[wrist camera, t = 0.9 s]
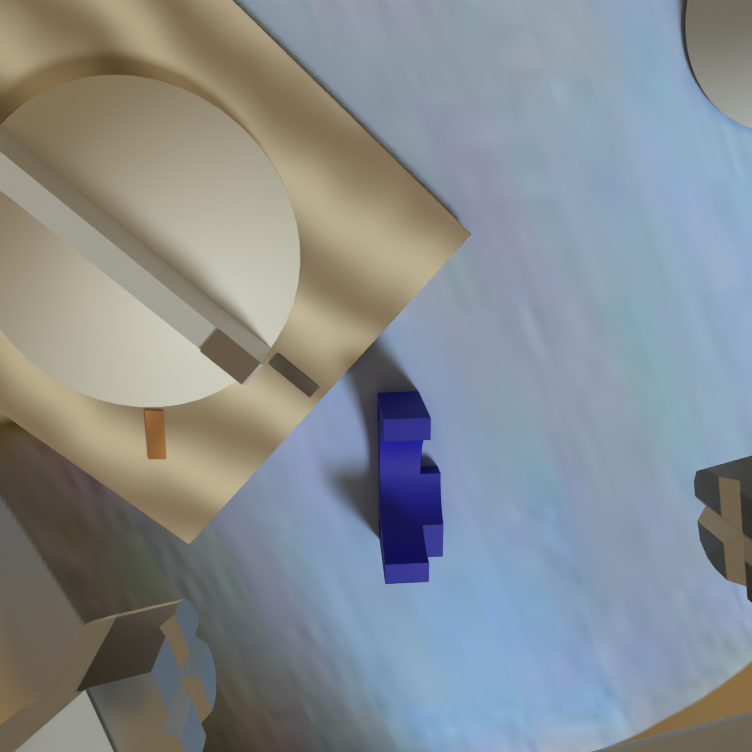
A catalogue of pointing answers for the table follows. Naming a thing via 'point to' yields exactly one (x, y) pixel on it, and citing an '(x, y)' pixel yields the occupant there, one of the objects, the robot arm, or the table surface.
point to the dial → (141, 242)
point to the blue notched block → (407, 490)
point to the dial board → (316, 231)
